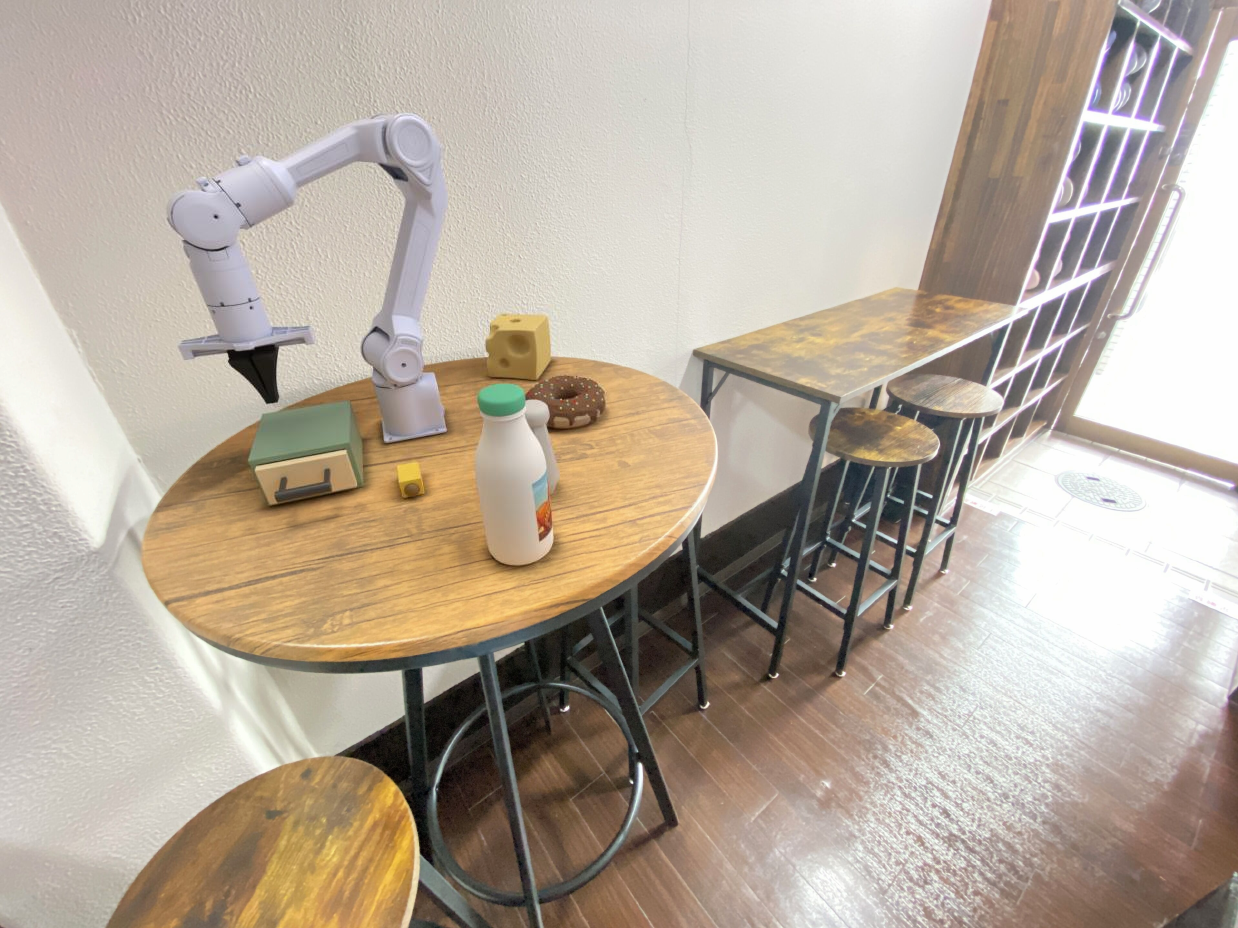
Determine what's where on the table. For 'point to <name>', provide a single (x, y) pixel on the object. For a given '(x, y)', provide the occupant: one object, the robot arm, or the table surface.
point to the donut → (569, 400)
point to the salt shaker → (543, 437)
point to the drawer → (306, 476)
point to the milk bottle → (512, 479)
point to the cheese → (518, 346)
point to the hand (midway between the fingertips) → (272, 400)
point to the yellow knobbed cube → (410, 480)
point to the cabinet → (308, 437)
